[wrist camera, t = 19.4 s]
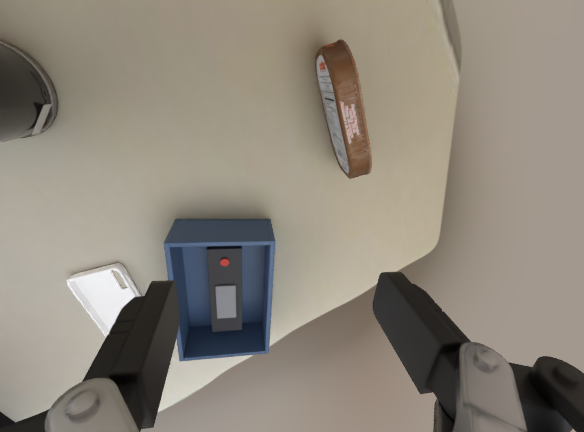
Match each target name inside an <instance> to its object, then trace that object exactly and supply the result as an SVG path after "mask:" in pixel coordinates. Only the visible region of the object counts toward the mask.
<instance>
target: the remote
mask: <svg viewBox="0 0 584 432" xmlns="http://www.w3.org/2000/svg"><path fill="white" fill-rule="evenodd" d="M207 262H208V276H209V291H210V306H211V321H212V332H220V331H233V330H242V246H207Z"/></svg>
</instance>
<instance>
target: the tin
mask: <svg viewBox="0 0 584 432" xmlns="http://www.w3.org/2000/svg"><path fill="white" fill-rule="evenodd" d="M316 73H317V80H318V85H319V89H320V94H321V98H322V103H323V108H324V112H325V117H326V121H327V125H328V130H329V134H330V138H331V142H332V146H333V149H334V153H335V156H336V159H337V161H338V164H339V166H340V168H341V169H342V171H343V172H344V173H345V174H346V175H347V177H348V178H350V179H351V178H355V177H358V176H361V175H364V174H369V173H370V171H371V166H372V157H371V149H370V143H369V137H368V131H367V125H366V119H365V113H364V107H363V100H362V94H361V88H360V82H359V76H358V72H357V68H356V64H355V61H354V59H353V56H352V53H351V51H350V49H349V47H348V45H347V44H346V42H344V41H343V40H338V41H337V42H335V43H332V44H329V45H326V46H323V47H321V48H320V49H319V51H318V52H317V55H316Z"/></svg>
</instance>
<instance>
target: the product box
mask: <svg viewBox="0 0 584 432" xmlns="http://www.w3.org/2000/svg"><path fill="white" fill-rule="evenodd" d="M13 423H15V422H13V421H12V420H10V419H9V418H8V417H6V416H5V415H3V414H2V413H1V412H0V428H3V427H5V426H8V425H11V424H13Z"/></svg>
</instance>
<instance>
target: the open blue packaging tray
mask: <svg viewBox="0 0 584 432" xmlns="http://www.w3.org/2000/svg"><path fill="white" fill-rule="evenodd" d="M207 246H242V330H233V331H220V332H212V321H211V306H210V291H209V276H208V262H207ZM164 249H165V256H166V263H167V271H168V278H169V281H170V280H175V282H176V286H177V295H178V303H179V311H180V323H179V330H178V334H177V345H178V352H179V360H180V361H189V360H200V359H211V358H222V357H233V356H244V355H255V354H265V353H269V340H270V323H271V305H272V288H273V271H274V253H275V238H274V234H273V229H272V224H271V220H270V219H176V220H175V222H174V224H173V226H172V228H171V230H170V232H169V234H168V236H167V238H166V240H165V242H164Z"/></svg>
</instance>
